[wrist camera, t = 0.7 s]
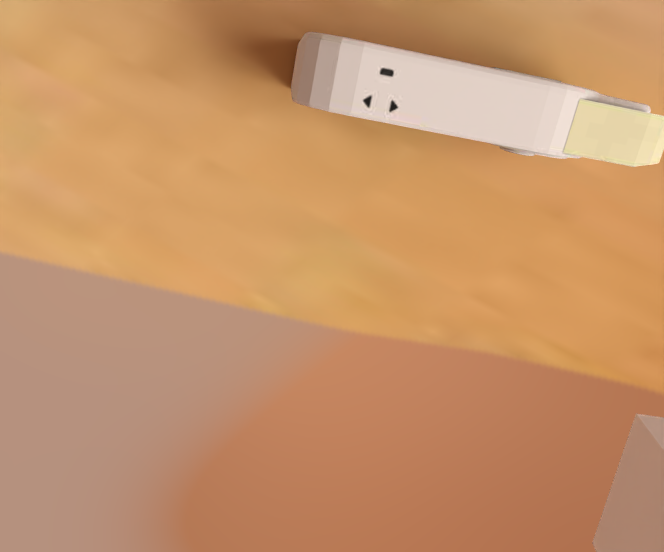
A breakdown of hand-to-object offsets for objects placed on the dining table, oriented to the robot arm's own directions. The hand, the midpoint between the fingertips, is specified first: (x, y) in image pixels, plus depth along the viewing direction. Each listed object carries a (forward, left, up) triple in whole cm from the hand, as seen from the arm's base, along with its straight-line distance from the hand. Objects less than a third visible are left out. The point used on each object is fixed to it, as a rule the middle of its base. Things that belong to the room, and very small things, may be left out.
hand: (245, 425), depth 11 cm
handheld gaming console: (-3, +7, -24) cm, 25 cm away
